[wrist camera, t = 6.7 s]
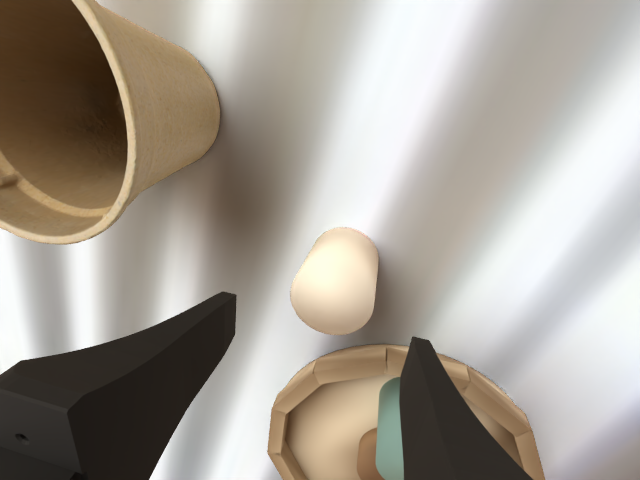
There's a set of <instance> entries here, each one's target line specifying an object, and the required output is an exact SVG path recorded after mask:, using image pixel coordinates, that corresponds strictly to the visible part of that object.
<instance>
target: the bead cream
mask: <svg viewBox="0 0 640 480" xmlns="http://www.w3.org/2000/svg"><path fill="white" fill-rule="evenodd" d="M378 264H379V257H378V252H377V249H376V247H375V245H374V243H373V242H372V241H371V239H370V238H369V237H367V236H366V235H365V234H364V233H362V232H360V231H358V230H356V229H352V228H347V227H339V228H334V229H331V230H328V231H326V232H324V233H323V234H322V235H321V236H320V237H319V238H318V239H317V240H316V242H315V244H314V245H313V247H312V249H311V251H310V252H309V254H308V256H307V258H306V259H305V261H304V263H303V265H302V266H301V268H300V270H299V272H298V273H297V275H296V277H295V279H294V281H293V283H292V286H291V291H290V297H291V302H292V306H293V308H294V310H295V312H296V314H297V315H298V316H299V318H300V319H301V320H302V321H303V322H304V323H305V324H307V325H308V326H309V327H311V328H313V329H315V330H317V331H319V332H322V333H325V334H330V335H344V334H349V333H352V332H354V331H357V330H358V329H360V328H361V327H363V326H364V325H365V324H366V323H367V322H368V320H369V319H370V317H371V315H372V313H373V309H374V302H375V292H376V283H377V274H378Z"/></svg>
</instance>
